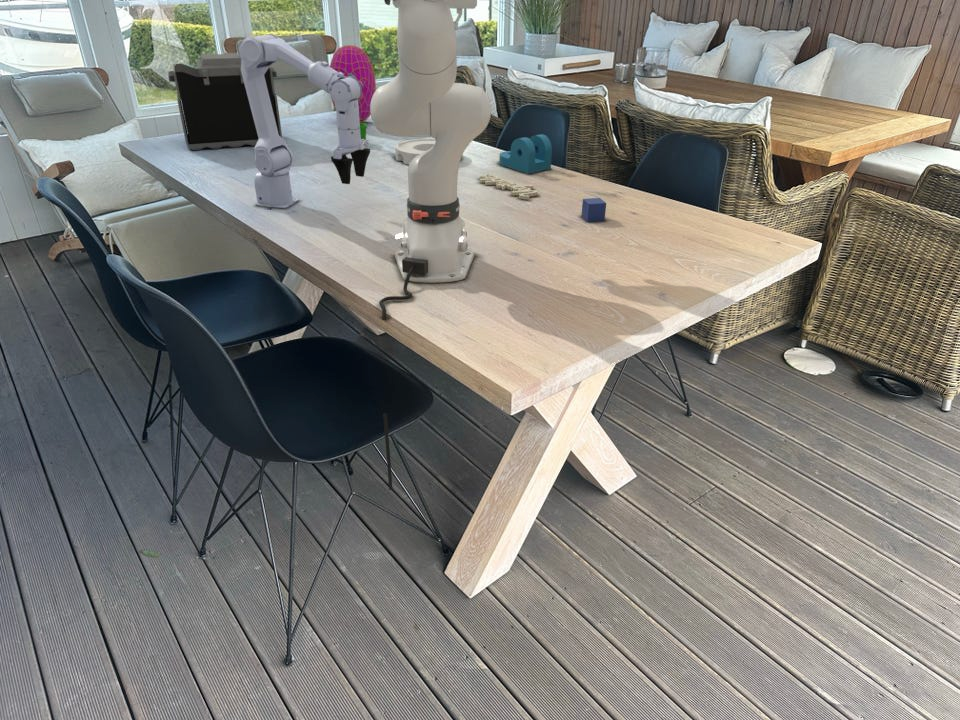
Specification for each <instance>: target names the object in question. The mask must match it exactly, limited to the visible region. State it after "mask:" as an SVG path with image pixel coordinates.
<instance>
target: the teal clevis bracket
mask: <svg viewBox="0 0 960 720" xmlns="http://www.w3.org/2000/svg"><path fill="white" fill-rule="evenodd" d="M552 146H553V145H552V142H551V140H550V139H549V137H548V136H547V135H546V134H542V133H541V134H535V135H532V136H531V137H530V138H529V137H525V136H524V137H520V138H515V139H514V140H513V141H512V143H511V145H510V150H506V151H502V152H500V153H499V156H498V157H499V159H498V161H499V165H500V166H503V167H506V168H509V169H511V170H515V171H518V172H520V173H524V174H527V175H529V174H534V173H538V172H539V173H540V172H544V171H548V170H551V169H552V156H553V147H552Z"/></svg>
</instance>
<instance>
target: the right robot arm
mask: <svg viewBox="0 0 960 720" xmlns="http://www.w3.org/2000/svg"><path fill="white" fill-rule="evenodd" d="M391 1H392V5H393V6H394V8H396V9H397V10H398V11H397V13H398V15H397V16H398V17H397V27H396V29H397V30H396V45H397V56H398V72H397V73H396V75H395V76H394V78H392V79H391V80H390V81H389V82H387V83H385V84H383V85H381V86H380V85H379V87H378V88H376V91H375V93H374V94H373V97H372V99H371V103H370V117H371V120H372V123H373V125H374V126H375V128H376V129H377V130H378V131H379V132H380V133H381V134H385V135H389V136H394V137H400V138H431V139H436V142H435V144H434V146H433V147H432V148H430V149H429V150H427V151H425V152H423V153H421V154H419V155H418V156H416V157H415V158H414V159H412V161H411V162H410V164H409V165H408V168H407V184H408V186H407V187H408V198H407V199H406V211H407V213H406V214H407V217H406V218H405V219H404V220H403V221H402V223H401V231H402V232H400V233H398V234H396V235H395V239H396V240H398V239H401V238H402V242H401V244H400V247H401V249H400V250H397V251H395V252H394V259H395V262H396V264H397V267H398V269H399V272H400V274H401V277H402V279H403V280H404V283H403V289H402V290H403V292H404V294H406V295H401V296H400V295H393V296H385V297H383V298H382V299H380V300H379V301H378V304H379V307H380V308H381V320H382V321H385V320H387V308H386V306H385V304H384V303H385V302H387V301H406V300H410V299H411V298H412V297H413V293H412V292H411V291H409V290H408V285H409V282H414V283H431V284H433V283H435V284H437V283H451V282H457V281H461V280H464V279H466V277H467V274H468V273H469V269H470V267H471V265H472V262H473V260H474V257H475V251H473V250H471V249H468V245H469V243H468V242H467V241H466V238H467V236H468V232H467V231H466V221H465V220H464V219H463V218H461V216H460V208H461V207H460V206H461V205H460V198H459V197H458V178H459V177H458V176H459V167H460V163H461V160H462V157H463V155H464V153H465V151H466V149H467V147H468V146H469V145H470V144H471V143H472V141H474V139H476V138H477V137H478V136H480V135H481V134H482V133H483V132H485V130H486V129H487V127H488V125H489V123H490V120H491V117H492V105H491V100H490V98H489V96H488V94H487V92H486V91H485V90H484V89H483V88H482V87H481V86H476V85H472V84H468V83H462V82H455V81H456V78H457V74H458V73H457V71H458V69H457V68H458V67H457V66H458V65H457V64H458V59H457V58H458V53H457V51H458V48H457V47H458V45H457V34H456V33H457V32H456V30H457V31H458V30H459V22H460V20H461V18H462V16H463V10H466V9H467V10H474V9H476V7H477V6H478V0H384V4H385V5H387V6H390V5H391ZM451 9H453V10H455V9H456V14H457V17H456V19H455V20H454V19H453V15H452V12H451ZM382 417H383V430H384V442H385V453H386V466H387V477H388V490H389V491H392V490H393V477H392V462H391V450H390V449H391V448H390V436H389V425H388V413H386V412H385V413H382Z"/></svg>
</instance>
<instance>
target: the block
mask: <svg viewBox="0 0 960 720" xmlns="http://www.w3.org/2000/svg"><path fill="white" fill-rule="evenodd" d="M606 211H607V202H606V201H604V200H603V199H602V198H601V197H593V198H582V205H581V216H580V217H581V218H583V220H584V221H586V222H587V223H591V222H594V223H595V222H605V221H606V220H605V219H606Z"/></svg>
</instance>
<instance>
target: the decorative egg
mask: <svg viewBox="0 0 960 720" xmlns="http://www.w3.org/2000/svg"><path fill="white" fill-rule="evenodd" d="M329 67H330V68H332V69H334V70H335V71H337V72H341V73H343V74H344V75H343V76H345V77H348V73H350V74H352V75H354V76H355V78H356V80H358V81H361V82H362V84H363V89H362V93H363V98H362V100H359V99H358V106H359V120H360V123H364V122H365V121H366V120H368V118H369V117H371V114H370V103H371V99H372V97H373V94H374V93H375V91H376V90H377V83H376V82H377V81H376V75H375V71H374V68H373V63H372V62H371V60H370V57H369V56H368V54H367V53H366V51H365V50H363V48H361V47H359V46H357V45H353V44H352V45H351V44H348V45H343V46H340V47H338V48H337V49H336V51H334V53H333V56H332V57H331V61H330V63H329ZM330 99H331V103H332V105H333V108H334V110H335V111H336V108H335V103H334V101H333V100H332V98H331V97H330Z"/></svg>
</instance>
